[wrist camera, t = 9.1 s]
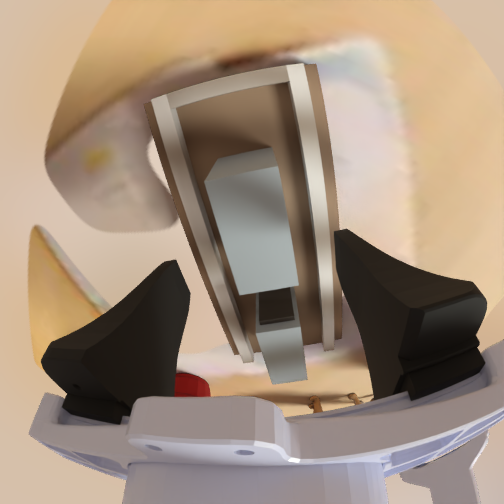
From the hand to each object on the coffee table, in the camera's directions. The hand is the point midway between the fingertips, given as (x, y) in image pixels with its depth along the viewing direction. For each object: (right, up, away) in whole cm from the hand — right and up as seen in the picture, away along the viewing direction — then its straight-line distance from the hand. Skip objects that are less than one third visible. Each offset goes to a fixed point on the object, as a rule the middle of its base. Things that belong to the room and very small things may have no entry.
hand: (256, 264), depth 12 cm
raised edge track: (+1, +2, +9) cm, 9 cm away
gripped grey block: (0, +4, +6) cm, 7 cm away
